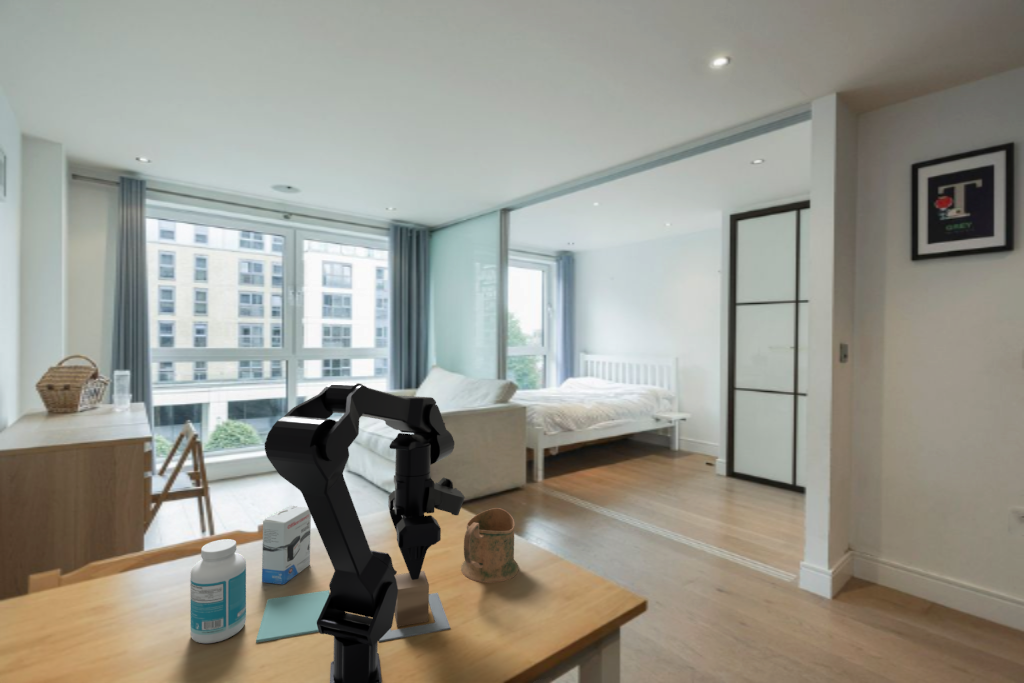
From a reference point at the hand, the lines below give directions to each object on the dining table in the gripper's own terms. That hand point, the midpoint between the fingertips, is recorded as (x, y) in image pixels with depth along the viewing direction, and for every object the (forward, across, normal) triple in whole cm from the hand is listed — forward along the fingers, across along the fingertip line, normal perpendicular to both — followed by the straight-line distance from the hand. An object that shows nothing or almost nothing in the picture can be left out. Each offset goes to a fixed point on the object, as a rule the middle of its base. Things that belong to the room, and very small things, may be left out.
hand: (411, 566), depth 80 cm
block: (+8, 0, 0) cm, 8 cm away
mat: (+8, +6, +18) cm, 21 cm away
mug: (+9, +10, -16) cm, 20 cm away
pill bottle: (+9, +5, +29) cm, 31 cm away
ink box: (+9, +22, +21) cm, 32 cm away
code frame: (+8, 0, 0) cm, 8 cm away
